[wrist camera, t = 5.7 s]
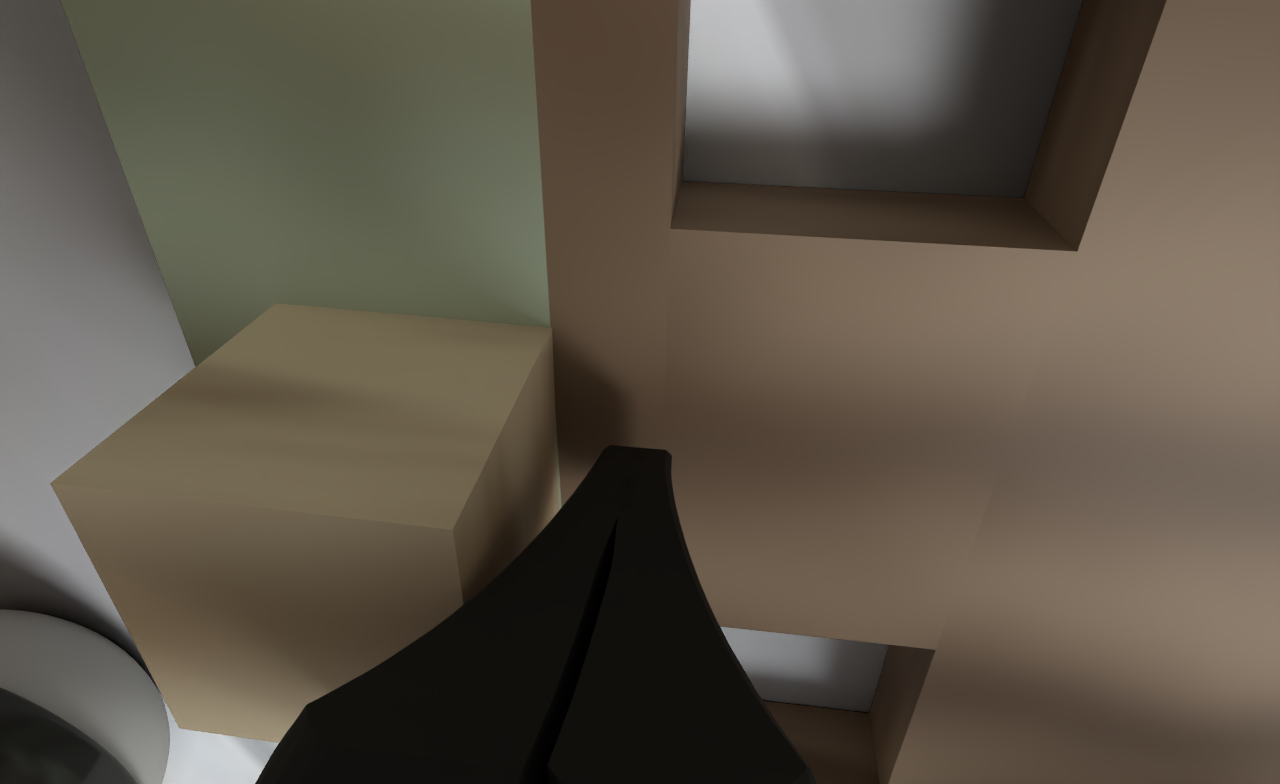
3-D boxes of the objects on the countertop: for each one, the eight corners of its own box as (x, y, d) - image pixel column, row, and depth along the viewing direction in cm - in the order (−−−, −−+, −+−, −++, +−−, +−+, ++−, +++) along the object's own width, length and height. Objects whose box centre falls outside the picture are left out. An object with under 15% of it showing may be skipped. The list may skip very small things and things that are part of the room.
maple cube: (560, 540, 15) (488, 773, 11) (331, 514, 16) (179, 727, 12) (552, 327, 13) (452, 529, 8) (276, 303, 13) (50, 483, 9)
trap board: (1182, 783, 21) (1229, 878, 19) (377, 684, 23) (340, 759, 21) (2102, -445, 8) (2589, -578, 6) (65, -384, 10) (-111, -462, 8)
